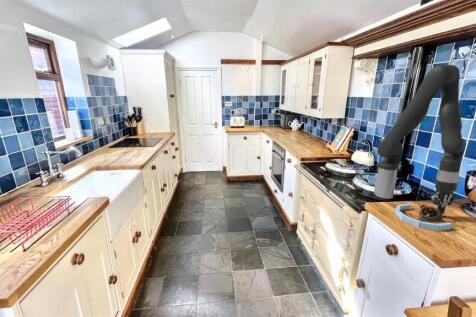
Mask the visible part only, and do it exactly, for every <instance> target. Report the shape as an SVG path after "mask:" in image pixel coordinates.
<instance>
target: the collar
mask: <svg viewBox="0 0 476 317" xmlns="http://www.w3.org/2000/svg"><path fill="white" fill-rule="evenodd" d="M410 208H411V209H412V204H410V203H402V204H398V205H397V206H396V207H395V209H394V215H395V214H396V215H397V216H398V217H399V218H400V219H399V218H398V217H397V216H396V215H395V216H396V217H397V218H398V219H399V220H400V221H402V222H403V221H404V222H403V223H406V222H407V223H406V224H408V225H411V226H414V227H416V228H420V229H424V230H425V229H426V230H430V231H431V230H432V231H446V230H452V228H453V227H452V226H453V223H452V222H448V221H447V222H443V223H442V222H439V223H436V222H425V221H419V219H416V218H412V217H410V216H408V215H405V213H403V212H402V211H404V210H403V209H409V210H411V209H410ZM400 210H401V211H400Z"/></svg>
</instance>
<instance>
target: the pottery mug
mask: <svg viewBox="0 0 476 317" xmlns="http://www.w3.org/2000/svg"><path fill="white" fill-rule="evenodd" d="M419 208H420V209H419V210H418V218H417V220H418V221H422V222H428V223H437V222H439V223H444V219H443V218H444V214H442V213H441V212H440V211H439V210H438V209H437V208H436V207H434V206H430V205H426V204H421V205H420V207H419ZM427 215H428V216H427Z"/></svg>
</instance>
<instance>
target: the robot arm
mask: <svg viewBox="0 0 476 317" xmlns="http://www.w3.org/2000/svg"><path fill="white" fill-rule="evenodd" d="M460 75H461V73H460V68H458V66H456V65H454V64H440V65H436V66H434V67H432V68H431V69H430V70H429V71H428V72H427V73H426V75H425V77H424V79H423V80H422V82H421V84H420V86H419V88H418V90H417V91H416V93H415V94H414V96H413V97H412V99H411V100H410V102H409V103H408V105H407V106H406V107H405V108H404V110H403V111H402V113H401V115H399V118H398V119H397V121H396V122H395V123H394V125H393V126H392V128H391V129H390V131H389V132H388V133H387V134H386V136H385V137H384V138H383V139H382V140H381V141H380V143H379V144H378V146H377V149H376V151H377V154H378V157H381V158H384V159H382V160H381V161H380V162H379V163H378V166H377V167H378V169H377V176H376V177H377V178H375V181H374V182H375V183H374V189H373V190H374V191H373V194H374V195H375V196H376V197H378V198H381V199H385V200H386V199H390V200H391V199H393V198H394V194H395V188H396V181H397V173H398V167H399V166H400V164H401V162H402V160H401V159H402V156H403V151H404V150H403V145H402V143H401V140H403V138H404V137H406V136H408V135H409V134H410V133H411V132H412V131H414V130H416V129H417V128H418V126H420V124H421V123H422V122H423V120H425V118H426V116H427V115H428V111H429V109H430V105H431V102H432V100H433V99H434V97H435V96H436V95H437V93H438V92H439V91H440V98H441V100H440V106H439V112H438V120H439V127H440V129H441V130H440V131H441V133H440V134H441V137H440V138H441V139H440V140H441V142H440V143H441V148H442V150H443V155H442V157H441V159H440V161H439V162H440V163H439V167H438V171H437V174H436V178H435V184H434V188H435V189H436V190H435V192H434V195H430V196H429V198H430V200H431V201H432V203H433V205H435V206H437V209H438V210H439V211H440V212H441V213H442V215H444V214H445V211H446V207H448V206H451V204H452V203H454V201H455V200H456V199H457V197H458V194H454V192H456V191H457V189H458V188H457V187H458V183H459V180H460V170H461V166H462V160H463V158H464V154H465V152H466V146H467V142H466V140H465V139H464V138H463V136H462V128H463V124H462V117H461V110H460V100H459V98H460V95H459V92H460Z"/></svg>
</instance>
